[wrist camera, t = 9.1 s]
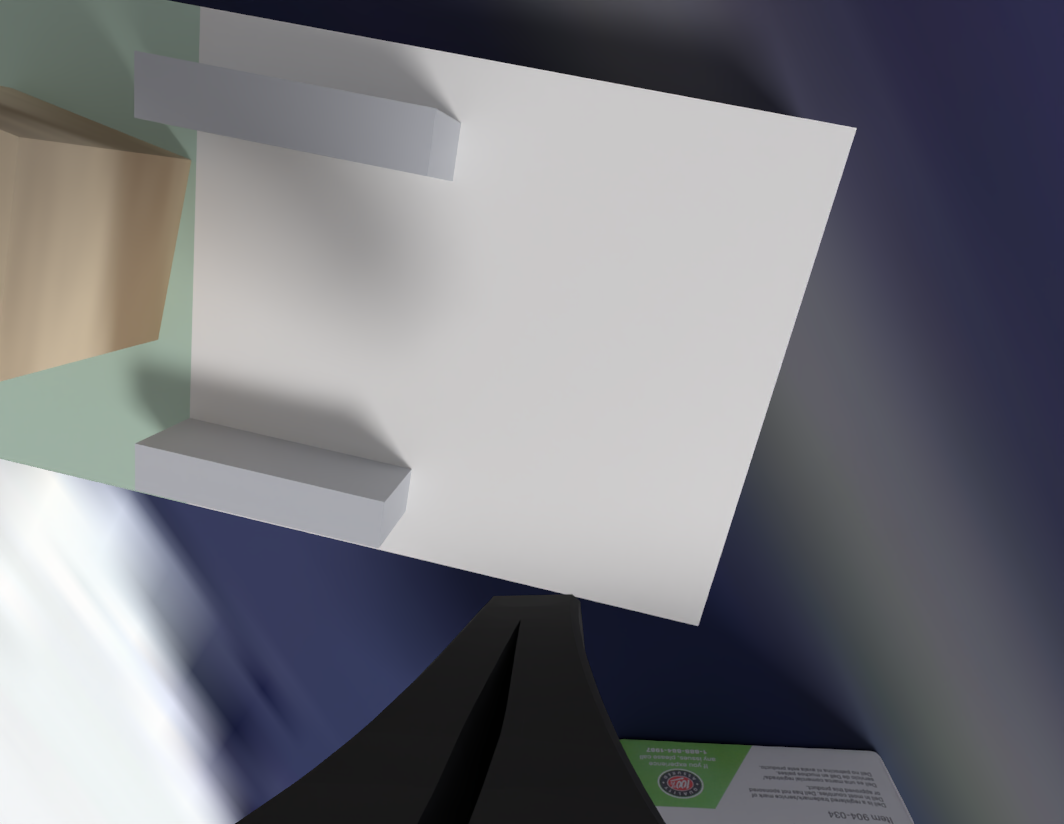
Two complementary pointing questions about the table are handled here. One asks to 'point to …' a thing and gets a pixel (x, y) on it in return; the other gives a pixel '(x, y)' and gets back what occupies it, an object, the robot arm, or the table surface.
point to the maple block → (80, 235)
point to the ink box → (765, 784)
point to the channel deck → (435, 297)
